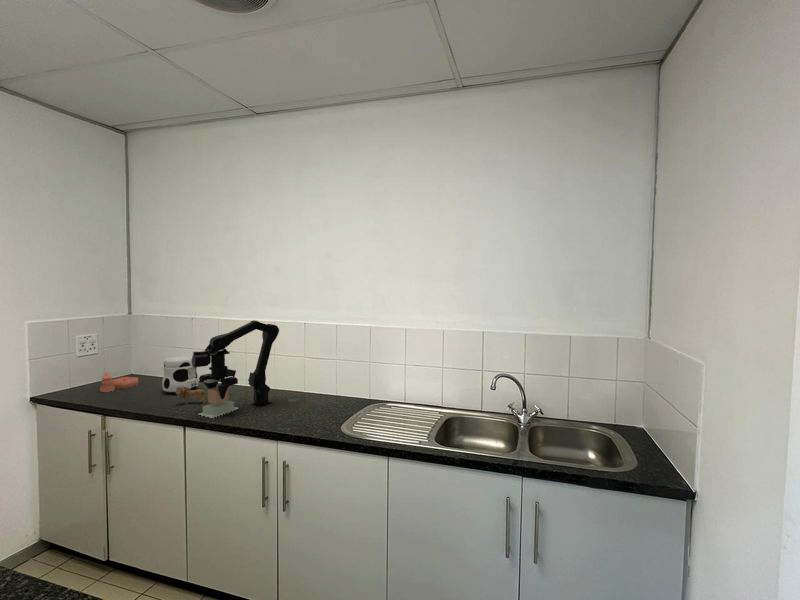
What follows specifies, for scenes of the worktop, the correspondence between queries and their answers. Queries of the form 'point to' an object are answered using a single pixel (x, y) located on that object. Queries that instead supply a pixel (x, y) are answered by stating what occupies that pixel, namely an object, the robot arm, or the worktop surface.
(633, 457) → the worktop surface
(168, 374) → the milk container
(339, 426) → the worktop surface
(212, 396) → the terracotta brick
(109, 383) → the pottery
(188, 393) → the lion figurine
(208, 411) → the grey scalloped base block
